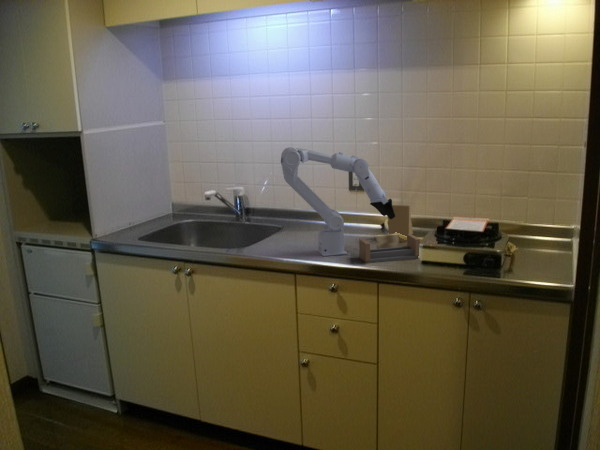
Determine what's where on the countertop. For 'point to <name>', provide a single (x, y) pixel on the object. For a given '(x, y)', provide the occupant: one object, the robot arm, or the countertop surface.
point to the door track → (389, 251)
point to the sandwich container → (400, 221)
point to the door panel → (387, 241)
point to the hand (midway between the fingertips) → (389, 216)
